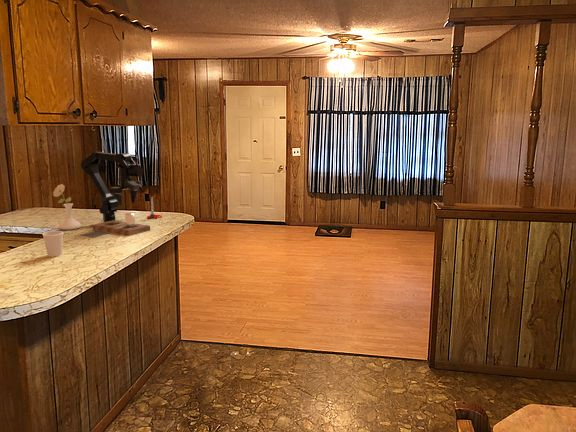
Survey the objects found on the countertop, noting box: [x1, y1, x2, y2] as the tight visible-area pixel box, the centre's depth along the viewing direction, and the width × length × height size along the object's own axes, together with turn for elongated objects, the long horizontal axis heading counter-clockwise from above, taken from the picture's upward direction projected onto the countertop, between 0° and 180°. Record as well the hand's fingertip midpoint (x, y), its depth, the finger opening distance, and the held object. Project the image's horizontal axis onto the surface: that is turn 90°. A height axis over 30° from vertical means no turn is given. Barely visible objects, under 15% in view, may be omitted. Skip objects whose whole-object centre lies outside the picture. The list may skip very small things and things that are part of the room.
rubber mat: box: [79, 230, 111, 239], centre depth 249 cm, size 11×11×1 cm
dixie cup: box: [41, 230, 64, 258], centre depth 211 cm, size 8×8×10 cm
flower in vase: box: [52, 183, 82, 231], centre depth 259 cm, size 13×11×25 cm
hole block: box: [92, 219, 151, 237], centre depth 259 cm, size 28×14×3 cm, turn 61°
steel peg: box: [124, 212, 136, 228], centre depth 255 cm, size 5×5×10 cm
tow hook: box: [146, 196, 163, 219], centre depth 294 cm, size 8×13×9 cm
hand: (127, 204), depth 271 cm, fingers open, 9 cm apart
